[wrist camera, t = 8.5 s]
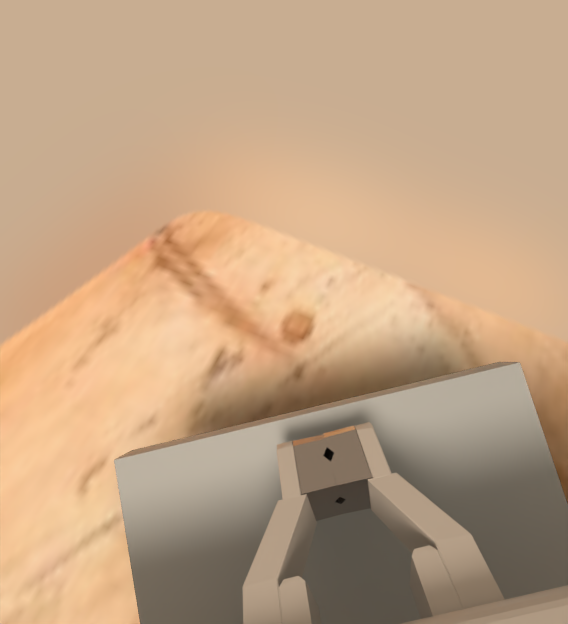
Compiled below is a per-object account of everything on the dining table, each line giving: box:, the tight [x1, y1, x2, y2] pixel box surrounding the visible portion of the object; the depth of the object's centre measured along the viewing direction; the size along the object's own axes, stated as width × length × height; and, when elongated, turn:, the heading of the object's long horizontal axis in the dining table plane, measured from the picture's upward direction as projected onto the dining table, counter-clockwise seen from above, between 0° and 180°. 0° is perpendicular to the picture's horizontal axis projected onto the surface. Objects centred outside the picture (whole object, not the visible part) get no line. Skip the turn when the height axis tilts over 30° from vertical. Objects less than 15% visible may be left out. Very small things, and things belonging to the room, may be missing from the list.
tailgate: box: [114, 362, 568, 624], centre depth 12 cm, size 2×14×11 cm
